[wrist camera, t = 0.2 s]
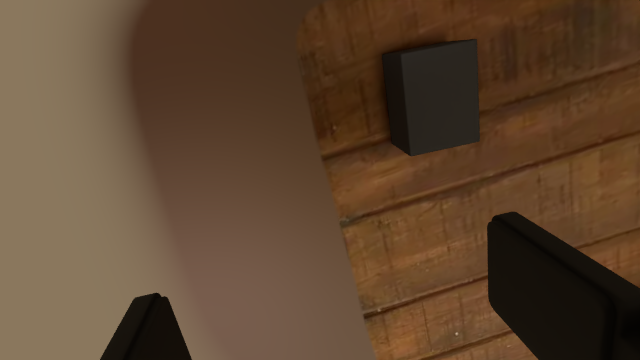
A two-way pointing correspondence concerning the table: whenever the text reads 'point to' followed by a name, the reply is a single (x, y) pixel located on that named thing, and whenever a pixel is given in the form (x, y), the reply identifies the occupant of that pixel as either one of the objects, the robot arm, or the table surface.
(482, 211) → the table surface
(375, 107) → the table surface
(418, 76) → the dark grey block
